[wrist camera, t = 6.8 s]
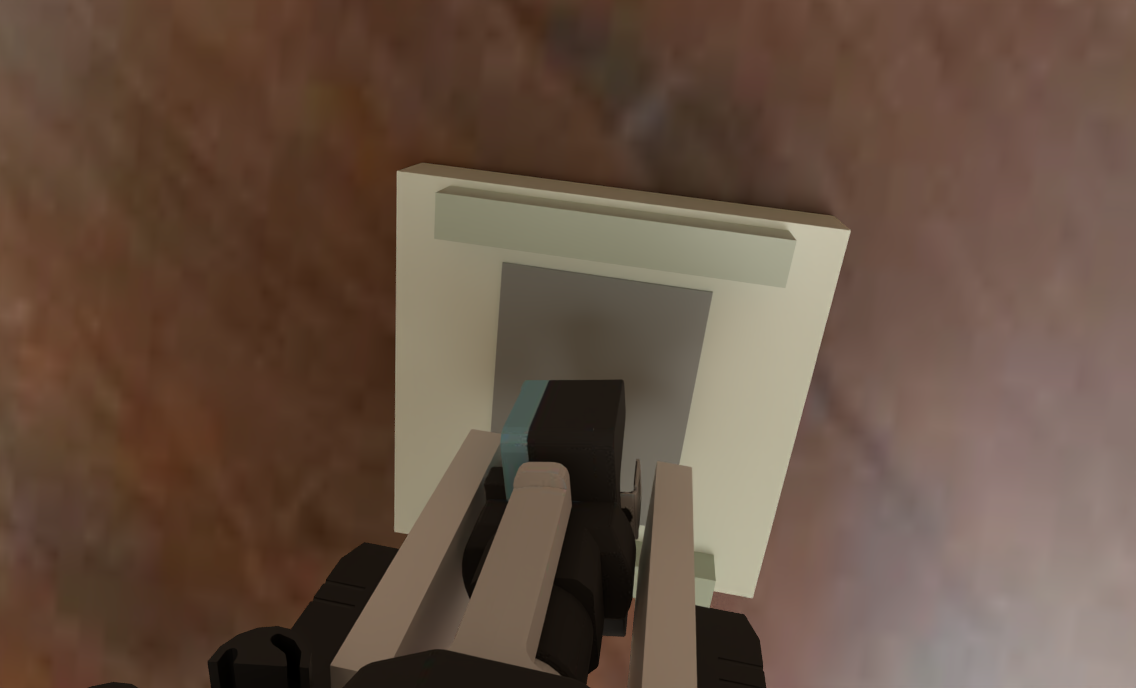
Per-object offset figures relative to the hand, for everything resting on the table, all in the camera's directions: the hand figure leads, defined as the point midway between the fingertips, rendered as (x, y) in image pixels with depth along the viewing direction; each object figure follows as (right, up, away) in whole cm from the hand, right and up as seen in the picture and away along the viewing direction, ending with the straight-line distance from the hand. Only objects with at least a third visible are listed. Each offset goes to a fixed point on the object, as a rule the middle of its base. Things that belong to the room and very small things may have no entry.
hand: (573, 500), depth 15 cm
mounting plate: (+1, +3, +7) cm, 7 cm away
